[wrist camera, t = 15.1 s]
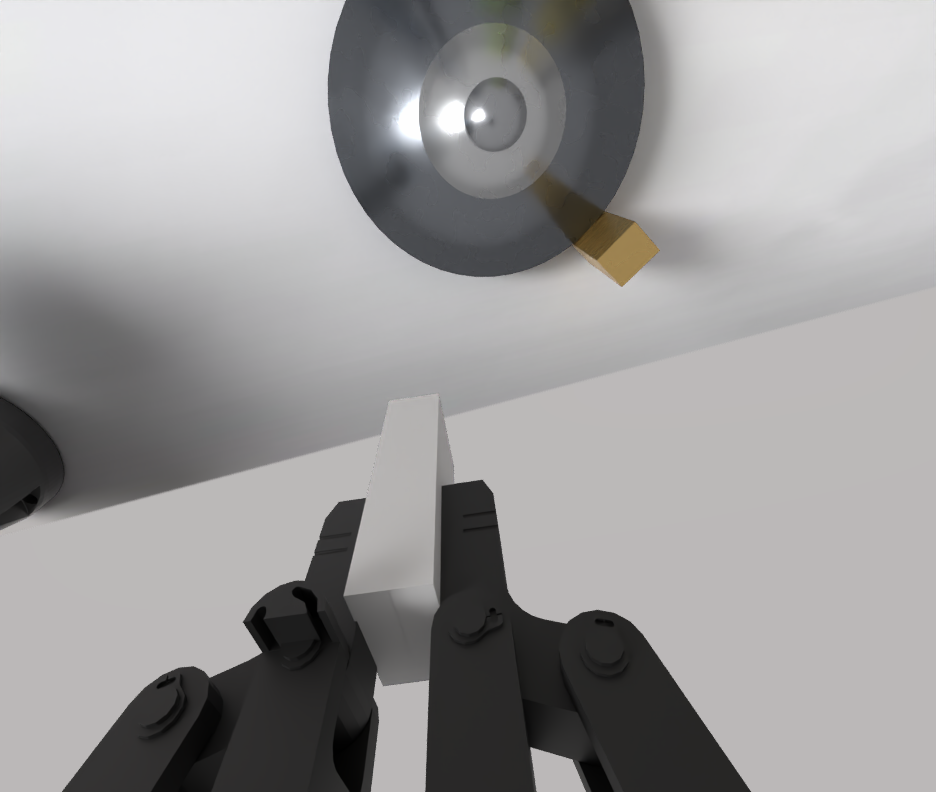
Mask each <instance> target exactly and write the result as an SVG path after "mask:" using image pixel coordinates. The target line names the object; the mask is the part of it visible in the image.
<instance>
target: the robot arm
mask: <svg viewBox="0 0 936 792" xmlns="http://www.w3.org/2000/svg"><path fill="white" fill-rule="evenodd" d="M63 476H64V471H63V464H62V460H61V457H60V455H59V452H58V450H57V449H56V447H55V445H54V443H53V442H52V441H51V439H50V438H49V437H48V435H47V434H46V433H45V432H44V431H43V429H42V428H41V427H40V426H39V425H38V424H37V423H36V422H34V421H33V420H32V419H31V418H30V417H29V416H27V415H26V414H25V413H23V412H22V411H21V410H19V409H18V408H16V407H15V406H13V405H12V404H10V403H8V402H7V401H5V400H3V399H1V398H0V530H2V529H4V528H6V527H8V526H11V525H13V524H15V523H17V522H19V521H21V520H24V519H26V518H27V517H29V516H31V515H32V514H34V513H35V512H36V511H38V510H39V509H40V508H41V507H42V506H43V505H45V504H46V503H47V502H48V501H49V500H50V499H52V498H53V497H54V496H55V495H56V494H57V492H58V491H59V489H60V487H61V485H62V482H63ZM243 623H244V624H245V626H246V628H247V629H248V630H249V632H250V634H251V635H252V637H253V638H254V640H255V641H256V643H257V645H258V646H259V648H260V649H261V651H262V653H261V654H260V655H258V656H256V657H254V658H252V659H251V660H249V661H247V662H244V663H242V664H240V665H238V666H236V667H233V668H231V669H229V670H226V671H224V672H222V673H220V674H217V675H215V676H213V677H211V678H209V677H208V676H207V674H206V673H205V672H204V671H202V670H200V669H198V668H196V667H194V666H193V667H182V668H178V669H175V670H173V671H171V672H168V673H166V674H164V675H162V676H160V677H159V678H158V679H156V680H155V681H153V682H152V683H151V684H149V685H148V686H147V687H145V688H144V689H143V690H142V691H141V692H140V694H138V696H137V697H136V698H135V699H134V700H133V701H132V702H131V703H130V704H129V705H128V707H127V708H126V709H125V711H124V712H123V713H122V715H121V716H120V717H119V718H118V720H117V721H116V722H115V723H114V725H113V726H112V727H111V729H110V730H109V731H108V733H107V734H106V735H105V737H104V738H103V739H102V741H101V742H100V743H99V744H98V746H97V747H96V748H95V750H94V751H93V752H92V753H91V755H90V756H89V757H88V759H87V760H86V761H85V763H84V764H83V765H82V766H81V768H80V769H79V770H78V772H77V773H76V774H75V776H74V777H73V778H72V779H71V781H70V782H69V783H68V785H67V786H66V787H65V789H64V790H63V791H62V792H371V784H372V776H373V767H374V758H375V750H376V742H377V733H378V724H379V717H378V707H377V705H376V702H375V700H374V698H373V695H374V687H375V681H376V674H377V673H378V676H379V678H380V680H381V682H382V684H383V686H388V685H396V684H403V683H411V682H419V681H426V680H429V703H428V705H429V706H428V733H427V762H426V791H425V792H536V786H535V778H534V771H533V764H532V757H531V750H530V747H532V748H535V749H539V750H543V751H546V752H550V753H553V754H556V755H559V756H563V757H566V758H569V759H573V762H574V764H575V767H576V769H577V771H578V774H579V776H580V778H581V781H582V783H583V785H584V788H585V790H586V792H751V791H750V790H749V788H748V787H747V785H746V784H745V782H744V781H743V779H742V778H741V777H740V775H739V774H738V772H737V771H736V769H735V768H734V766H733V765H732V763H731V762H730V761H729V759H728V758H727V756H726V755H725V753H724V752H723V750H722V749H721V747H720V746H719V745H718V743H717V742H716V740H715V739H714V737H713V736H712V734H711V733H710V731H709V730H708V729H707V727H706V726H705V724H704V723H703V721H702V720H701V718H700V717H699V715H698V714H697V713H696V711H695V710H694V708H693V707H692V705H691V704H690V702H689V701H688V699H687V698H686V697H685V695H684V694H683V692H682V691H681V689H680V688H679V687H678V685H677V683H676V682H675V681H674V679H673V678H672V676H671V675H670V673H669V672H668V670H667V669H666V667H665V666H664V665H663V663H662V662H661V660H660V659H659V657H658V656H657V654H656V653H655V652H654V650H653V649H652V647H651V646H650V644H649V643H648V641H647V640H646V638H645V637H644V636H643V634H642V633H641V632H640V631H639V630H638V629H637V628H636V627H635V626H634V625H633V624H632V623H631V622H630V621H628V620H626V619H625V618H623V617H621V616H619V615H617V614H615V613H612V612H606V611H600V610H595V611H588V612H583V613H580V614H579V615H578V616H576V617H574V618H573V619H571V620H570V621H569V622H568V623H567V624H565V623H560V622H554V621H549V620H544V619H541V618H537V617H535V616H532V615H530V614H528V613H527V612H525V611H523V610H522V609H521V608H520V607H519V606H518V605H517V604H515V602H514V601H513V599H512V598H511V596H510V595H509V593H508V589H507V583H506V577H505V570H504V562H503V555H502V548H501V541H500V534H499V529H498V522H497V515H496V509H495V503H494V496H493V493H492V491H491V490H490V489H489V488H488V486H487V485H486V484H485V482H484V481H483V480H478V481H471V482H464V483H457V484H454V465H453V460H452V455H451V450H450V445H449V441H448V436H447V431H446V426H445V421H444V416H443V411H442V406H441V402H440V397H439V393H436V394H429V395H423V396H416V397H410V398H403V399H396V400H390V401H389V403H388V407H387V411H386V416H385V420H384V424H383V428H382V433H381V437H380V441H379V446H378V450H377V454H376V459H375V463H374V467H373V472H372V476H371V480H370V484H369V489H368V493H367V497H366V498H363V499H356V500H349V501H343V502H339V503H338V504H337V505H336V506H335V508H334V509H333V510H332V511H331V512H330V514H329V515H328V516H327V517H326V519H325V522H324V525H323V528H322V531H321V534H320V540H319V541H318V543H317V546H316V549H315V556H313V558H312V561H311V564H310V567H309V570H308V573H307V576H306V579H305V581H293V582H290V583H286V584H283V585H280V586H279V587H277V588H275V589H274V590H272V591H270V592H269V593H267V594H265V595H264V596H263V597H262V598H261V599H260V600H259V601H258V602H257V603H256V604H255V605H254V606H253V607H252V608H251V610H250V612H249V613H248V615H247V616H246V618H245V620H244V621H243Z"/></svg>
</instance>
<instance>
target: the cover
mask: <svg viewBox="0 0 936 792" xmlns="http://www.w3.org/2000/svg"><path fill="white" fill-rule="evenodd" d="M418 119H419V128H420V133H421V138H422V142H423V145H424V148H425V150H426V153H427V155H428V157H429V159H430V161H431V163H432V164H433V166H434V167H435V169H436V170H437V171H438V173H439V174H440V175H441V176H442V177H443V178H444V179H445V180H446V181H447V182H448V183H449V184H450V185H452V186H453V187H455V188H456V189H457V190H459V191H461V192H463V193H465V194H468V195H471V196H473V197H478V198H484V199H496V198H503V197H507V196H511V195H513V194H516V193H518V192H520V191H522V190H524V189H526V188H527V187H528V186H530V185H531V184H532V183H534V182H535V181H536V180H537V179H538V178H539V177H540V176H541V175H542V174H543V173H544V171H545V170H546V169H547V168H548V166H549V165H550V163H551V162H552V160H553V158H554V156H555V154H556V152H557V150H558V148H559V145H560V142H561V140H562V136H563V132H564V127H565V120H566V98H565V91H564V86H563V82H562V79H561V75H560V72H559V70H558V68H557V66H556V64H555V62H554V60H553V58H552V57H551V55H550V54H549V52H548V51H547V50H546V48H545V47H544V46H543V45H542V44H541V43H540V42H539V41H538V40H537V39H536V38H535V37H533V36H532V35H530V34H529V33H527V32H526V31H524V30H522V29H520V28H518V27H515V26H512V25H508V24H504V23H484V24H480V25H476V26H473V27H470V28H468V29H466V30H463V31H462V32H460V33H459V34H457V35H456V36H454V37H453V38H452V39H451V40H449V41H448V42H447V43H446V44H445V45H444V46H443V47H442V49H441V50H440V51H439V52H438V53H437V55H436V56H435V58H434V59H433V61H432V62H431V64H430V66H429V68H428V70H427V73H426V75H425V78H424V81H423V84H422V88H421V92H420V98H419V118H418Z"/></svg>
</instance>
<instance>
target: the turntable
mask: <svg viewBox="0 0 936 792" xmlns="http://www.w3.org/2000/svg"><path fill="white" fill-rule="evenodd" d="M484 23H504V24H508V25H512V26H515V27H518V28H520V29H522V30H524V31H526V32H527V33H529V34H530V35H532V36H533V37H535V38H536V39H537V40H538V41H539V42H540V43H541V44H542V45H543V46H544V47H545V48H546V50H547V51H548V52H549V54H550V55H551V57H552V58H553V60H554V62H555V64H556V66H557V68H558V70H559V72H560V75H561V79H562V82H563V86H564V91H565V98H566V120H565V127H564V132H563V136H562V140H561V142H560V145H559V148H558V150H557V152H556V154H555V156H554V158H553V160H552V162H551V163H550V165H549V166H548V168H547V169H546V170H545V171H544V173H543V174H542V175H541V176H540V177H539V178H538V179H537V180H536V181H535V182H534V183H532V184H531V185H530V186H528V187H527V188H526V189H524V190H522V191H520V192H518V193H516V194H513V195H511V196H507V197H503V198H496V199H484V198H478V197H473V196H471V195H468V194H465V193H463V192H461V191H459V190H457V189H456V188H455V187H453V186H452V185H450V184H449V183H448V182H447V181H446V180H445V179H444V178H443V177H442V176H441V175H440V174H439V173H438V171H437V170H436V169H435V167H434V166H433V164H432V163H431V161H430V159H429V157H428V155H427V153H426V150H425V148H424V145H423V142H422V138H421V133H420V128H419V119H418V118H419V98H420V92H421V88H422V84H423V81H424V78H425V75H426V73H427V70H428V68H429V66H430V64H431V62H432V61H433V59H434V58H435V56H436V55H437V53H438V52H439V51H440V50H441V49H442V47H443V46H444V45H445V44H446V43H447V42H448V41H449V40H451V39H452V38H453V37H454V36H456V35H457V34H459V33H460V32H462V31H463V30H466V29H468V28H470V27H473V26H476V25H480V24H484ZM644 85H645V83H644V63H643V54H642V48H641V42H640V36H639V31H638V28H637V24H636V21H635V17H634V14H633V10H632V7H631V5H630V3H629V0H346V1H345V4H344V7H343V10H342V12H341V15H340V18H339V21H338V24H337V27H336V31H335V35H334V40H333V44H332V49H331V54H330V64H329V74H328V107H329V115H330V123H331V130H332V135H333V139H334V143H335V147H336V152H337V155H338V158H339V160H340V163H341V166H342V169H343V172H344V174H345V177H346V179H347V181H348V183H349V185H350V187H351V189H352V191H353V193H354V195H355V196H356V198H357V200H358V201H359V203H360V204H361V206H362V207H363V209H364V211H365V212H366V213H367V215H368V216H369V217H370V218H371V220H372V221H373V222H374V223H375V225H376V226H377V227H378V228H379V229H380V230H381V231H382V232H383V233H384V234H385V235H386V236H387V237H388V238H389V239H390V240H391V241H392V242H393V243H395V244H396V245H397V246H399V247H400V248H401V249H403V250H404V251H405V252H407V253H408V254H409V255H411V256H413V257H415V258H416V259H418V260H420V261H422V262H423V263H426V264H428V265H430V266H433V267H435V268H438V269H440V270H443V271H447V272H451V273H455V274H459V275H467V276H474V277H493V276H500V275H508V274H513V273H516V272H520V271H524V270H527V269H530V268H532V267H534V266H537V265H539V264H542V263H544V262H546V261H547V260H549V259H551V258H553V257H554V256H556V255H558V254H560V253H561V252H562V251H564V250H565V249H567V248H568V247H569V246H571V245H573V246H574V247H575V248H576V249H577V251H578V252H579V253H580V254H581V255H582V256H583V257H584V258H585V259H586V260H587V261H588V262H589V263H590V264H591V265H593V266H594V267H595V268H597V269H598V270H600V271H601V272H602V273H604V274H605V275H606V276H608V277H609V278H610V279H612V280H613V281H614V282H616V283H617V284H619V285H620V286H621V287H622V286H623V285H625V284H626V283H627V282H628V281H629V280H630V279H631V278H632V277H633V276H634V275H635V274H636V273H637V272H638V271H639V270H640V269H641V268H642V267H643V266H644V265H645V264H646V263H647V262H648V261H649V260H650V259H651V258H653V257H654V256H655V255H656V254H657V253H658V252H659V251H660V250H659V249H658V248H657V246H656V245H655V244H654V243H653V242H652V241H651V240H650V238H649V237H648V236H647V235H646V234H645V233H644V231H643V230H642V229H641V228H640V227H639V226H638V225H637V223H636V222H634V221H631V220H628V219H625V218H622V217H620V216H617V215H614V214H611V213H608V212H605V211H604V210H605V209H606V207H607V206H608V204H609V203H610V201H611V200H612V198H613V197H614V195H615V193H616V191H617V190H618V188H619V186H620V184H621V182H622V180H623V178H624V176H625V174H626V171H627V169H628V166H629V164H630V161H631V159H632V156H633V153H634V149H635V146H636V142H637V138H638V135H639V130H640V124H641V118H642V112H643V102H644Z"/></svg>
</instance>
